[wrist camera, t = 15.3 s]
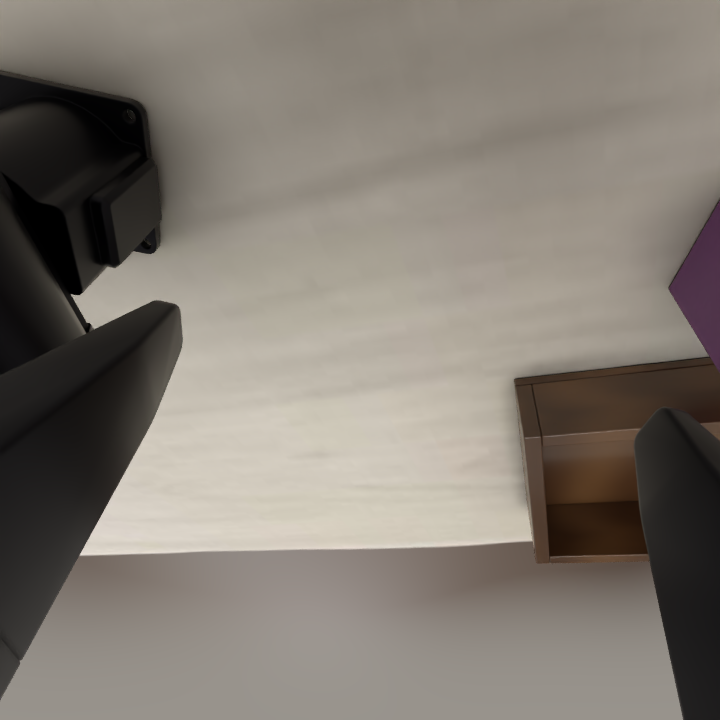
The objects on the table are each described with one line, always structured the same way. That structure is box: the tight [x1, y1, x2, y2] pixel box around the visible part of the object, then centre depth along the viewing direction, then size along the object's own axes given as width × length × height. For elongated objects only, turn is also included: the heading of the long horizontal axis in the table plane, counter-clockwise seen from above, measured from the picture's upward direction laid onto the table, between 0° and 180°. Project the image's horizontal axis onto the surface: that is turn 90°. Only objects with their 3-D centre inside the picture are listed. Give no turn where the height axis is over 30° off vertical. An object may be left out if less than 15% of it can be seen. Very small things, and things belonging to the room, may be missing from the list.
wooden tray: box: [514, 358, 720, 563], centre depth 27 cm, size 14×12×4 cm
